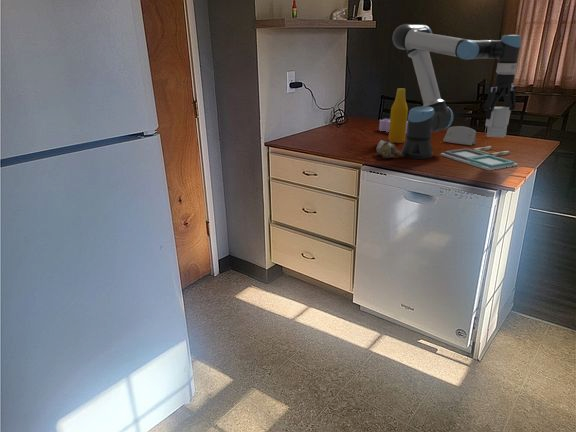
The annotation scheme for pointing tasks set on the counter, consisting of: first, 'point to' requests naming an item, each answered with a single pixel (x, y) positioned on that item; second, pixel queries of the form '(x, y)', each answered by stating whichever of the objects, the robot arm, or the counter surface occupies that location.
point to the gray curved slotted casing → (460, 135)
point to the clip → (386, 125)
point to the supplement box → (498, 122)
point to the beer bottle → (398, 118)
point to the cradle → (490, 149)
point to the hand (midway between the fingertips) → (496, 125)
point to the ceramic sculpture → (387, 149)
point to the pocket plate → (478, 159)
